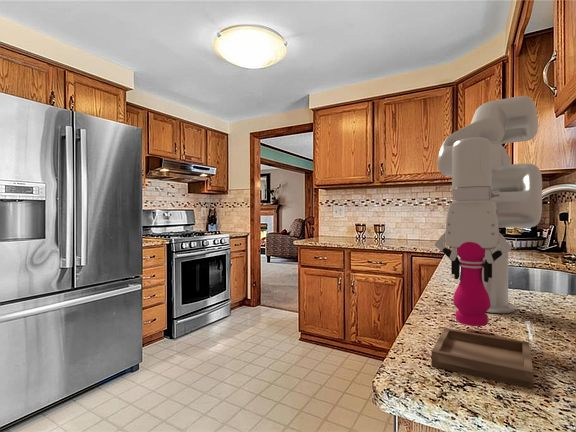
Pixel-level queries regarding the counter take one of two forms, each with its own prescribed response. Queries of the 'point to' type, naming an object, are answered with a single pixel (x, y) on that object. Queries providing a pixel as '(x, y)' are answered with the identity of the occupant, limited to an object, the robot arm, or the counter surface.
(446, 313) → the counter surface
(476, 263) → the pepper mill
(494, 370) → the tray
